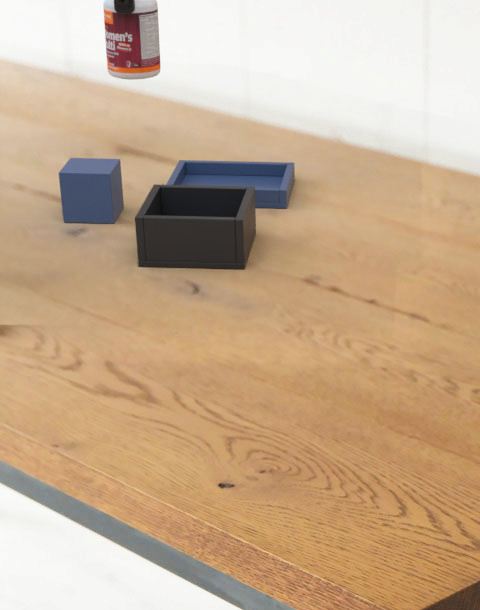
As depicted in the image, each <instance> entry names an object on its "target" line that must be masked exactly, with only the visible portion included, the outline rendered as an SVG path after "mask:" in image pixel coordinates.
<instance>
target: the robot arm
mask: <svg viewBox="0 0 480 610" xmlns="http://www.w3.org/2000/svg"><path fill="white" fill-rule="evenodd" d="M114 9H115V11H116V12H117V13H132V12H133V11H134V10H135V0H114Z"/></svg>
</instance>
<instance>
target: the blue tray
mask: <svg viewBox="0 0 480 610" xmlns="http://www.w3.org/2000/svg"><path fill="white" fill-rule="evenodd" d="M295 170H296V169H295V162H292V161H291V162H288V161H287V162H283V161H281V162H279V161H243V160H242V161H238V160H237V161H236V160H201V159H199V160H197V159H196V160H194V159H193V160H192V159H179V160H178V162H177V163H176V165H175V167H174V169H173V171H172V172H171V175H170V177H169V178H168V180H167V182H166V184H165V185H199V186H242V187H255V209H256V208H257V209H287V208H288V204H289V202H290V198H291V194H292V190H293V187H294V184H295V179H296V178H295V174H296V173H295Z"/></svg>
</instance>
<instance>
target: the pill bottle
mask: <svg viewBox="0 0 480 610" xmlns="http://www.w3.org/2000/svg"><path fill="white" fill-rule="evenodd" d="M103 21H104V37H105V54H106V66H107V73H108V75H110V76H111V77H113V78H115V79H121V80H132V81H133V80H145V79H151V78H154V77H156V76H158V75H160V73H161V50H160V48H161V47H160V28H159V27H160V26H159V7H158V1H157V0H135V10H134V11H133V12H132V13H117V12H116V11H115V9H114V0H103Z"/></svg>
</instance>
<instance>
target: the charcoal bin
mask: <svg viewBox="0 0 480 610" xmlns="http://www.w3.org/2000/svg"><path fill="white" fill-rule="evenodd" d="M144 199H145V200H144V201H143V203H142V204H141V206H140V208H139V210H138V211H137V213H136V215H135V216H134V224H135V225H134V226H135V237H136V252H137V265H138V267H141V268H143V267H146V268H147V267H148V268H180V269H181V268H185V269H189V268H190V269H223V270H225V269H227V270H245V269H246V266H247V263H248V260H249V256H250V253H251V250H252V247H253V243H254V241H255V238H256V236H257V235H256V234H257V216H256V215H257V214H256V213H257V212H256V208H255V187H242V186H199V185H166V184H153V185H152V187H151V188H150V190H149V192H148V194H147V196H146V198H144Z"/></svg>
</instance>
